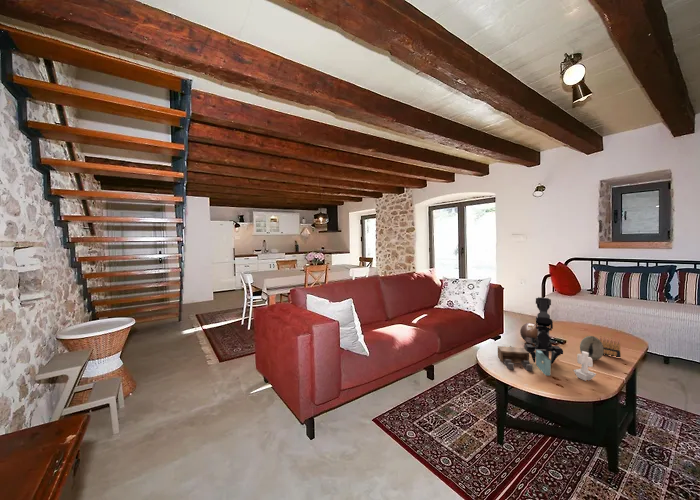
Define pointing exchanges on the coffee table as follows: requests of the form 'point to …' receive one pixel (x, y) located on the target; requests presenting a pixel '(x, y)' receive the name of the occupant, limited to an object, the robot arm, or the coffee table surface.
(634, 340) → the coffee table surface
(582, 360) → the figurine
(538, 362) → the door
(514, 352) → the brown legged block
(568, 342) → the coffee table surface
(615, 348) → the ammunition clip
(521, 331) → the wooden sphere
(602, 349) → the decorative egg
